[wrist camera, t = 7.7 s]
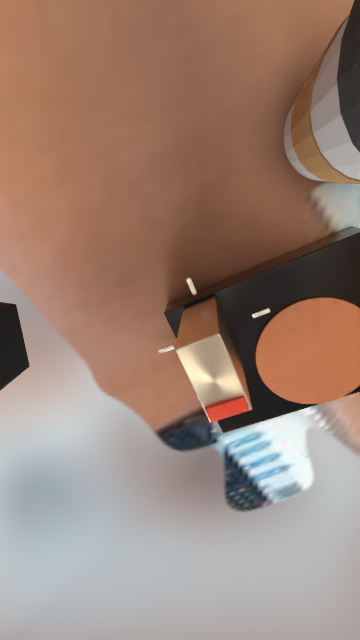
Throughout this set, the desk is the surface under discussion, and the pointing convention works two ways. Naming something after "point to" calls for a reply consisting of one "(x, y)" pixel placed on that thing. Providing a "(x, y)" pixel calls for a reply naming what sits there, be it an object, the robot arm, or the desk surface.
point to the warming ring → (311, 350)
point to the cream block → (212, 360)
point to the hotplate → (276, 308)
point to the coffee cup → (329, 111)
